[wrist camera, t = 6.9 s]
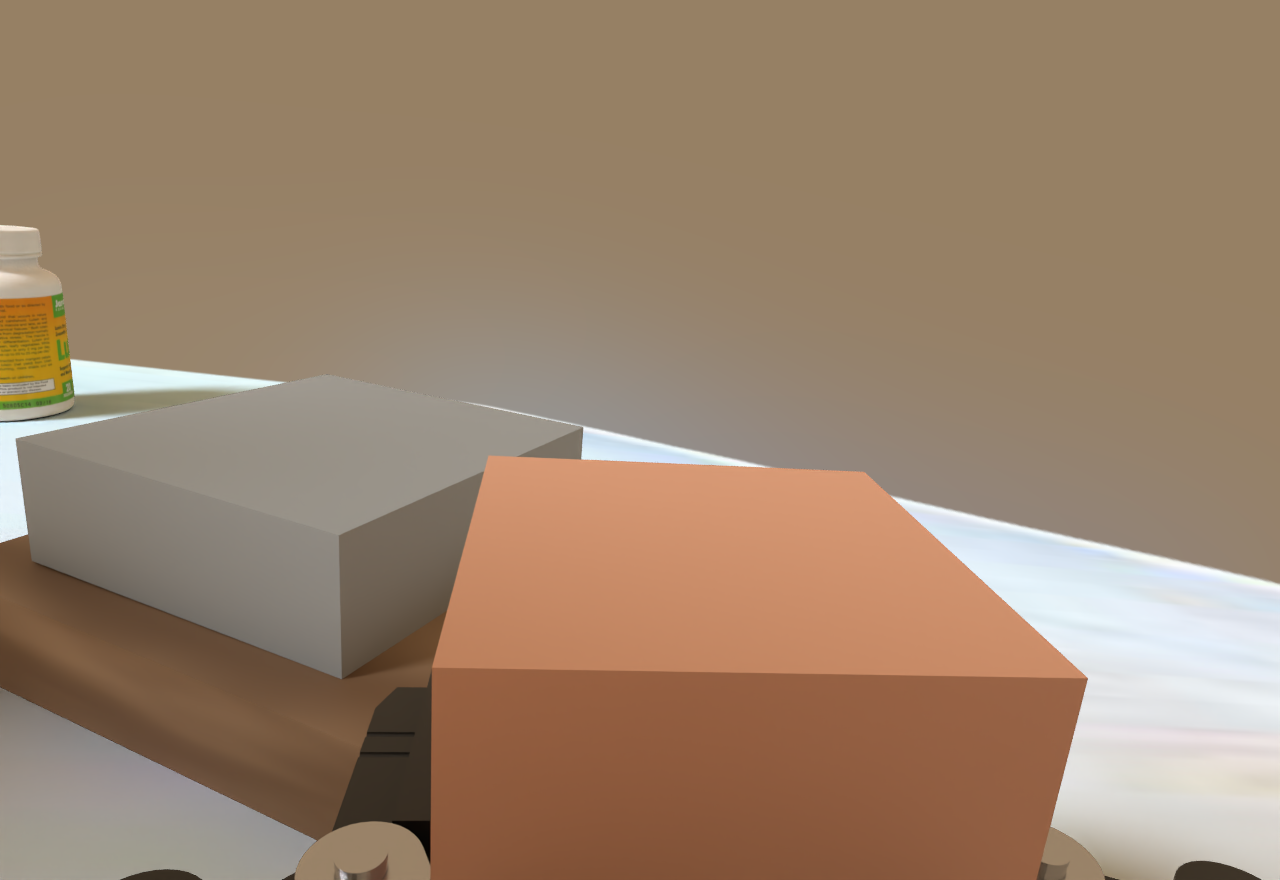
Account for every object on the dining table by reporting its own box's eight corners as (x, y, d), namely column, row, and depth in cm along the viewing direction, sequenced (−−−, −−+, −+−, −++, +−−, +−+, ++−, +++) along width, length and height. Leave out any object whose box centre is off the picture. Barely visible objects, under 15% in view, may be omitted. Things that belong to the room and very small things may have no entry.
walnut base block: (364, 890, 18) (361, 747, 17) (-54, 680, 23) (-75, 565, 22) (653, 605, 31) (661, 516, 30) (340, 516, 37) (338, 439, 36)
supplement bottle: (88, 414, 46) (67, 232, 43) (-37, 428, 42) (-67, 229, 39) (61, 394, 49) (41, 224, 47) (-55, 405, 46) (-85, 221, 43)
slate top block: (341, 679, 19) (338, 534, 18) (31, 560, 23) (15, 438, 22) (576, 525, 29) (583, 427, 28) (329, 462, 33) (327, 374, 32)
